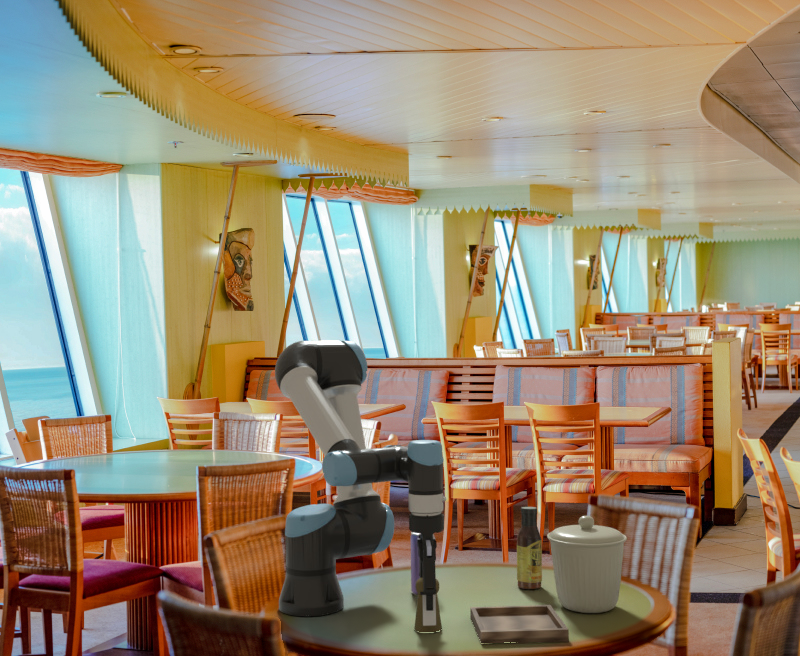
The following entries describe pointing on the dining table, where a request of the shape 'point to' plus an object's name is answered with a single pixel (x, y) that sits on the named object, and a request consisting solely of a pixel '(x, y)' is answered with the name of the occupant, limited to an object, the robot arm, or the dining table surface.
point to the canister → (587, 565)
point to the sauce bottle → (529, 551)
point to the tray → (518, 624)
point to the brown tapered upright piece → (419, 610)
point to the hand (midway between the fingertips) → (428, 618)
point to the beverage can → (414, 561)
